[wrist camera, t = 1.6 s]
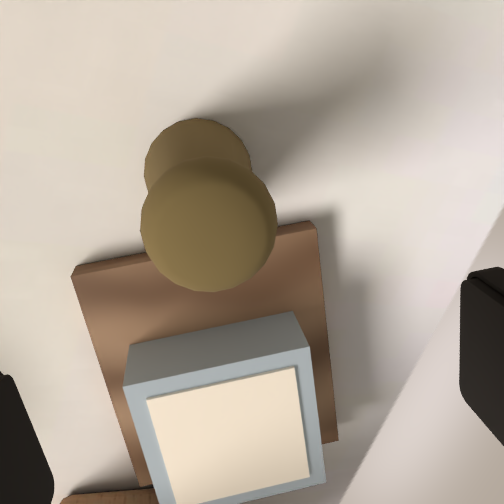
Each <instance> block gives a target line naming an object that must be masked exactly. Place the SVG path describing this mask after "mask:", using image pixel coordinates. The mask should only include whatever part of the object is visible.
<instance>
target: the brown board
mask: <svg viewBox="0 0 504 504" xmlns="http://www.w3.org/2000/svg"><path fill="white" fill-rule="evenodd" d="M71 279H72V282H73V285H74V288H75V291H76V294H77V297H78V300H79V304H80V307H81V310H82V313H83V316H84V319H85V322H86V325H87V328H88V331H89V334H90V337H91V340H92V343H93V346H94V349H95V352H96V355H97V358H98V361H99V364H100V367H101V370H102V373H103V376H104V379H105V382H106V385H107V388H108V392H109V395H110V398H111V401H112V404H113V407H114V410H115V413H116V416H117V419H118V422H119V425H120V428H121V431H122V434H123V437H124V440H125V443H126V446H127V449H128V452H129V455H130V458H131V461H132V464H133V467H134V470H135V473H136V477H137V480H138V483H139V486H140V487H142V486H146V485H150V484H153V482H152V479H151V476H150V473H149V470H148V466H147V463H146V460H145V457H144V454H143V451H142V447H141V444H140V441H139V438H138V435H137V431H136V428H135V425H134V422H133V419H132V416H131V412H130V409H129V406H128V403H127V400H126V396H125V393H124V390H123V381H124V375H125V369H126V363H127V356H128V350H129V345H132V344H137V343H142V342H146V341H151V340H156V339H161V338H165V337H170V336H175V335H180V334H185V333H189V332H194V331H199V330H204V329H208V328H213V327H218V326H223V325H228V324H232V323H237V322H242V321H247V320H251V319H256V318H261V317H266V316H270V315H275V314H280V313H285V312H290V311H293V312H294V315H295V317H296V319H297V321H298V323H299V325H300V327H301V329H302V331H303V333H304V336H305V338H306V340H307V342H308V344H309V346H310V353H311V361H312V369H313V378H314V386H315V394H316V402H317V410H318V418H319V426H320V435H321V443H322V444H325V443H330V442H334V441H338V430H337V421H336V411H335V401H334V392H333V382H332V373H331V363H330V354H329V344H328V334H327V325H326V315H325V306H324V296H323V286H322V277H321V267H320V258H319V248H318V239H317V229H316V227H315V226H314V225H313V224H312V223H311V222H310V221H305V222H300V223H295V224H290V225H284V226H279V227H277V232H276V238H275V244H274V248H273V250H272V252H271V254H270V256H269V257H268V259H267V261H266V263H265V265H264V266H263V267H262V268H261V269H260V270H259V271H258V272H257V273H256V274H255V275H254V276H253V277H252V278H251V279H249V280H247V281H245V282H243V283H242V284H240V285H238V286H236V287H234V288H231V289H226V290H222V291H217V292H204V291H193V290H190V289H188V288H185V287H182V286H180V285H177V284H175V283H173V282H172V281H171V280H170V279H168V278H167V277H166V276H164V275H163V274H162V273H160V272H159V270H158V269H157V267H156V266H155V264H154V263H153V262H152V260H151V259H150V257H149V256H148V254H147V252H146V253H140V254H135V255H130V256H125V257H120V258H115V259H110V260H104V261H99V262H94V263H89V264H84V265H79V266H76V267H75V269H74V271H73V273H72V275H71Z"/></svg>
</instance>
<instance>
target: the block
mask: <svg viewBox="0 0 504 504" xmlns="http://www.w3.org/2000/svg"><path fill="white" fill-rule="evenodd" d="M60 504H159V502H158V498H157V495H156V492H155V489H154V488H152V489H140V490H128V491H115V492H103V493H90V494H78V495H71V496H69V497H66V498H64V499H63V500H62V501H61V503H60Z"/></svg>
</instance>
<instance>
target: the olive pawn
mask: <svg viewBox="0 0 504 504" xmlns="http://www.w3.org/2000/svg"><path fill="white" fill-rule="evenodd" d="M144 178H145V182H146V186H147V190H148V195H147V197H146V200H145V202H144V204H143V207H142V212H141V227H140V232H141V236H142V240H143V243H144V247H145V250H146V252H147V254H148V256H149V257H150V259H151V260H152V262H153V263H154V264H155V266H156V267H157V269H158V270H159V272H160V273H162V274H163V275H164V276H166V277H167V278H168V279H170V280H171V281H172V282H173V283H175V284H177V285H180V286H182V287H185V288H188V289H190V290H193V291H204V292H217V291H222V290H226V289H231V288H234V287H236V286H238V285H240V284H242V283H243V282H245V281H247V280H249V279H251V278H252V277H253V276H254V275H255V274H256V273H257V272H258V271H259V270H260V269H261V268H262V267H263V266H264V265H265V263H266V261H267V259H268V257H269V256H270V254H271V252H272V250H273V248H274V244H275V238H276V232H277V225H278V222H277V215H276V209H275V203H274V201H273V199H272V197H271V195H270V193H269V192H268V190H267V188H266V186H265V184H264V183H263V182H262V181H261V180H260V179H259V178H258V177H257V176H256V175H255V174H254V173H253V172H252V168H251V162H250V157H249V154H248V152H247V150H246V148H245V146H244V144H243V142H242V140H241V139H240V138H239V137H238V136H237V135H236V134H234V133H233V132H232V131H231V130H230V129H229V128H228V127H225V126H223V125H221V124H219V123H217V122H215V121H213V120H205V119H198V118H195V119H189V120H184V121H179V122H177V123H175V124H173V125H172V126H170V127H168V128H166V129H165V130H163V131H162V132H161V133H160V135H159V136H158V137H157V138H156V139H155V140H154V141H153V142H152V144H151V146H150V149H149V151H148V154H147V156H146V158H145V169H144Z"/></svg>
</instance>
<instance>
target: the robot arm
mask: <svg viewBox="0 0 504 504" xmlns="http://www.w3.org/2000/svg"><path fill="white" fill-rule="evenodd" d="M460 296H461V297H460V374H459V375H460V377H459V385H460V391H461V394H462V396H463V398H464V400H465V401H466V403H467V404H468V405H469V406H470V407H471V409H472V410H473V411H474V412H475V413H476V414H477V416H478V417H479V418H480V419H481V420H482V421H483V422H484V424H485V425H486V426H487V427H488V428H489V430H490V431H491V432H492V433H493V434H494V435H495V437H496V438H497V439H498V440H499V441H500V442H501V443H502V445H503V446H504V269H503V268H500V267H494V268H489V269H484V270H479V271H474V272H471V273H470V274H469V275H468V277H467V280H464V281H463V282H462V284H461V295H460ZM53 494H54V479H53V475H52V472H51V470H50V467H49V465H48V462H47V460H46V458H45V455H44V453H43V450H42V448H41V445H40V443H39V441H38V438H37V436H36V433H35V431H34V428H33V426H32V423H31V421H30V419H29V416H28V414H27V411H26V409H25V406H24V404H23V402H22V399H21V397H20V394H19V392H18V389H17V387H16V384H15V382H14V380H13V378H12V377H11V376H10V375H8V374H7V375H3V374H2V373H1V372H0V504H51V501H52V498H53Z"/></svg>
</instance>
